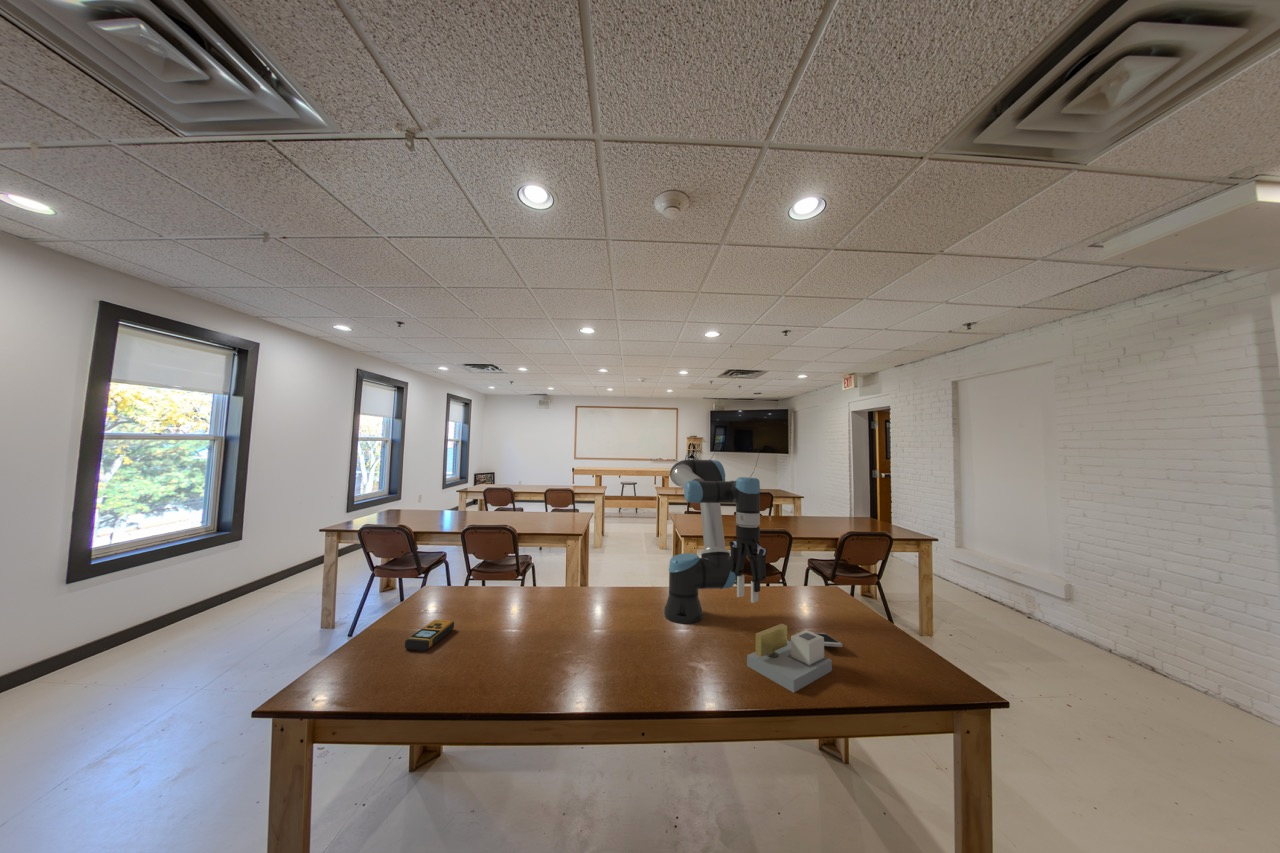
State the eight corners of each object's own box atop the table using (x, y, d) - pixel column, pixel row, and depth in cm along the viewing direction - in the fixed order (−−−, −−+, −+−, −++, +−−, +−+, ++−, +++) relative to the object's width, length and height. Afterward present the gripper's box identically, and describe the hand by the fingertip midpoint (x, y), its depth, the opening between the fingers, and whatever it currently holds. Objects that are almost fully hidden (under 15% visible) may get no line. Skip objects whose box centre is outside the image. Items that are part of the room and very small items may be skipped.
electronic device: (455, 629, 141) (456, 619, 141) (428, 651, 126) (428, 640, 126) (433, 627, 142) (433, 617, 142) (403, 649, 126) (404, 638, 127)
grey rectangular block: (791, 656, 121) (791, 635, 121) (806, 649, 126) (805, 629, 126) (809, 665, 116) (809, 643, 116) (824, 657, 121) (823, 636, 121)
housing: (747, 667, 121) (747, 654, 121) (785, 649, 132) (785, 638, 133) (793, 693, 108) (793, 679, 108) (832, 672, 119) (831, 659, 120)
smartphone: (820, 645, 129) (820, 642, 130) (805, 634, 144) (805, 631, 144) (843, 647, 129) (842, 644, 129) (825, 635, 144) (825, 632, 144)
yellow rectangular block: (761, 661, 117) (761, 636, 118) (755, 658, 119) (755, 633, 119) (787, 649, 125) (787, 625, 125) (781, 646, 126) (781, 623, 127)
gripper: (719, 522, 134) (718, 592, 132) (763, 531, 119) (763, 610, 117) (734, 520, 138) (733, 588, 136) (778, 528, 123) (778, 605, 122)
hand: (747, 598), depth 127 cm, fingers open, 5 cm apart
